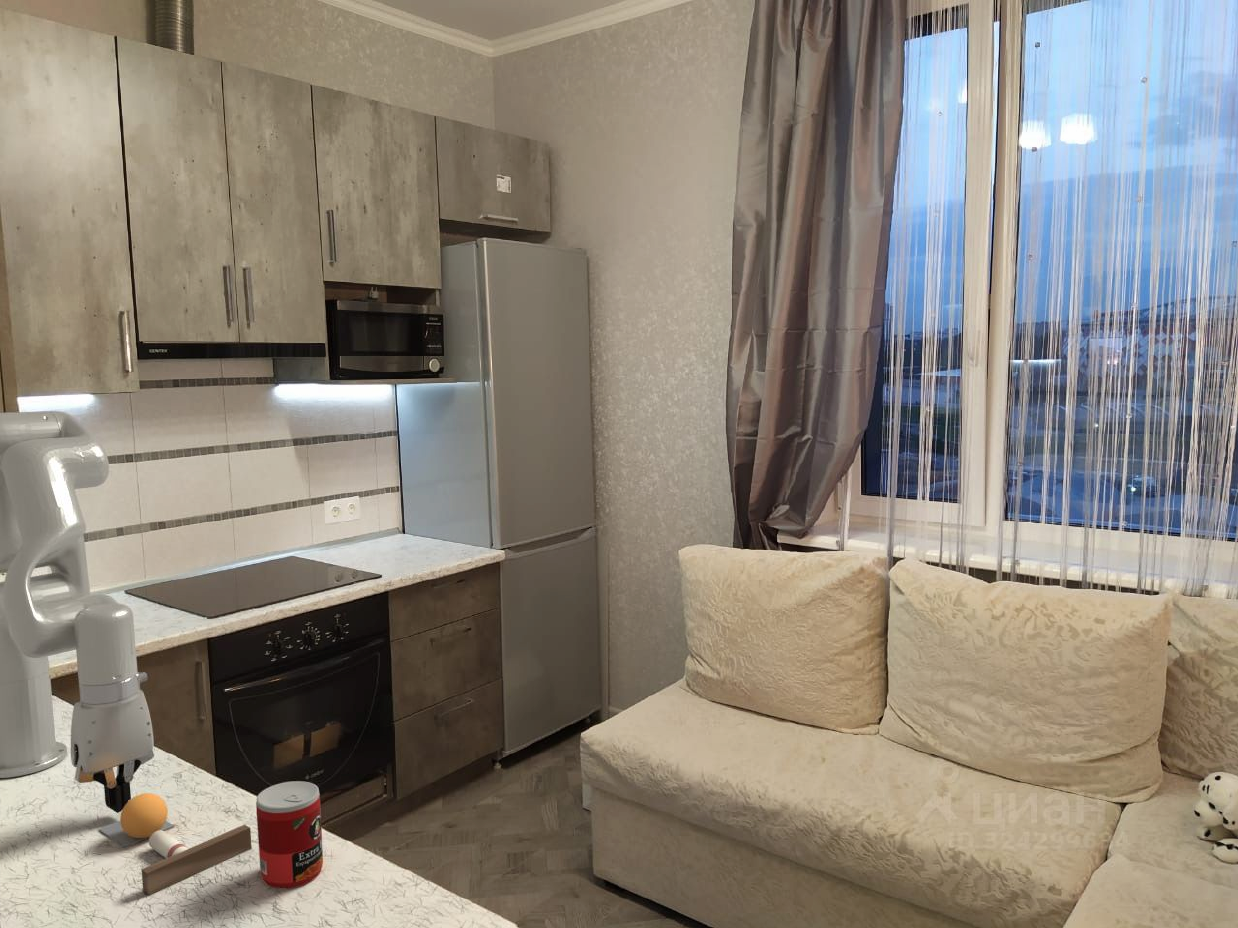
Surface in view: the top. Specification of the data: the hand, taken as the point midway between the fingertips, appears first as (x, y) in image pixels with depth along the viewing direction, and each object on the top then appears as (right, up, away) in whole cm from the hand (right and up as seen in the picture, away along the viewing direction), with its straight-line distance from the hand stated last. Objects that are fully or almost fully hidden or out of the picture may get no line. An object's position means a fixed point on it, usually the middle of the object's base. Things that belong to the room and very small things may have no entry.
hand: (118, 807), depth 134 cm
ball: (+7, +1, -6) cm, 9 cm away
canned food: (+32, -3, -15) cm, 35 cm away
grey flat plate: (+4, -2, -3) cm, 6 cm away
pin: (+10, -1, -9) cm, 13 cm away
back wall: (+19, -3, -14) cm, 24 cm away
